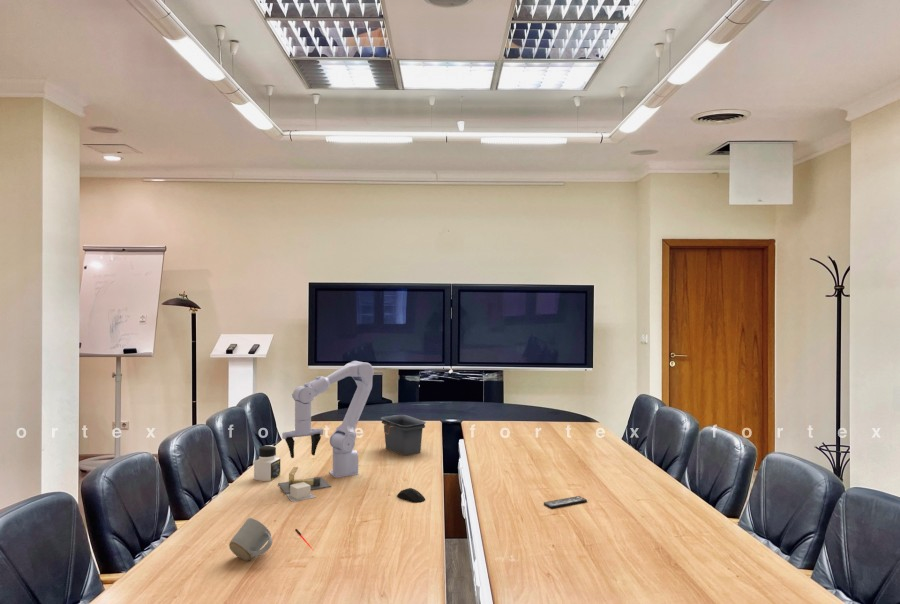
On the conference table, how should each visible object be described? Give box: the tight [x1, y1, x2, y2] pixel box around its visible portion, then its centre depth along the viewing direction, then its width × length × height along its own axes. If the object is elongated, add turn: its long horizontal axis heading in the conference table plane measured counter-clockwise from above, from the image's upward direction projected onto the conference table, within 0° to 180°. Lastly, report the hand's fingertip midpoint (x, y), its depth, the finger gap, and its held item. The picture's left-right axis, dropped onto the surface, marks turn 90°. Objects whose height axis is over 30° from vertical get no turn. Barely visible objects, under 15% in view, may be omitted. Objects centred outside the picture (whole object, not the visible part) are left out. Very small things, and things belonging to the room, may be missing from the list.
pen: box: [295, 528, 314, 551], centre depth 157 cm, size 1×19×1 cm, turn 31°
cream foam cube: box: [290, 482, 312, 499], centre depth 193 cm, size 5×5×4 cm
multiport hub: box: [543, 495, 588, 510], centre depth 185 cm, size 4×14×2 cm, turn 116°
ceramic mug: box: [228, 517, 273, 562], centre depth 146 cm, size 11×8×8 cm
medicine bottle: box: [253, 444, 281, 482], centre depth 214 cm, size 7×7×12 cm
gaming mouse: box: [396, 487, 426, 504], centre depth 190 cm, size 6×15×4 cm, turn 44°
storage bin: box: [380, 414, 427, 457], centre depth 252 cm, size 21×16×14 cm
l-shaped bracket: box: [288, 466, 321, 486], centre depth 207 cm, size 10×11×4 cm
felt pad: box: [285, 492, 316, 503], centre depth 193 cm, size 8×8×1 cm
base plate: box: [277, 476, 332, 495], centre depth 204 cm, size 16×12×1 cm
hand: (302, 456), depth 208 cm, fingers open, 7 cm apart
